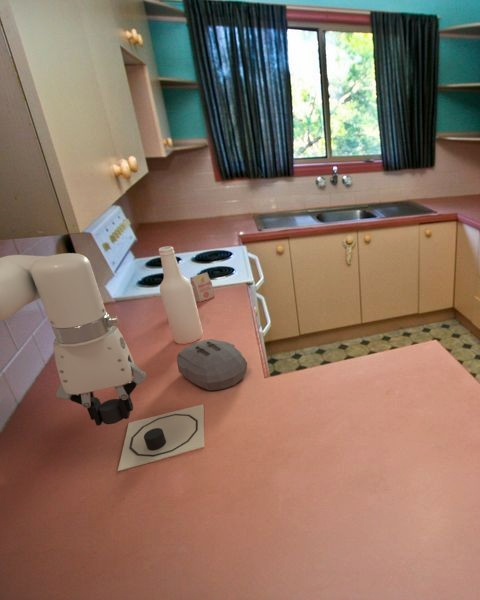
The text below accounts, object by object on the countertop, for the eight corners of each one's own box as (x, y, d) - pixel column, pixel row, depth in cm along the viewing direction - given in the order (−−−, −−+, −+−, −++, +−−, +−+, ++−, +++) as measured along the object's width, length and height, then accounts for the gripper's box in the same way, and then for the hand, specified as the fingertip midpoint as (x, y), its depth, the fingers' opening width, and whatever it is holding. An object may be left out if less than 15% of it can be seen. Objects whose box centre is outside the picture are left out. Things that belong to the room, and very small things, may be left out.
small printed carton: (193, 300, 164) (187, 276, 160) (209, 295, 169) (204, 271, 165) (198, 302, 162) (193, 278, 158) (214, 297, 167) (209, 273, 163)
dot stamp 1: (101, 426, 76) (95, 413, 74) (105, 414, 79) (100, 401, 78) (124, 421, 77) (119, 407, 76) (127, 409, 80) (122, 396, 79)
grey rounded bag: (171, 374, 117) (209, 402, 105) (164, 348, 113) (201, 373, 102) (222, 352, 127) (261, 374, 116) (216, 327, 124) (256, 347, 112)
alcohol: (167, 342, 134) (141, 251, 122) (188, 330, 141) (165, 242, 130) (189, 346, 131) (165, 253, 119) (209, 333, 139) (188, 244, 127)
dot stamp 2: (146, 452, 89) (142, 441, 88) (148, 441, 92) (144, 430, 91) (165, 447, 90) (162, 436, 89) (166, 436, 93) (163, 426, 92)
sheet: (118, 471, 85) (117, 470, 85) (129, 423, 98) (128, 422, 98) (204, 447, 91) (204, 445, 90) (203, 405, 104) (203, 403, 104)
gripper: (142, 310, 77) (166, 395, 84) (29, 328, 71) (66, 417, 78) (136, 328, 70) (163, 417, 78) (12, 349, 64) (53, 443, 72)
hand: (114, 416), depth 78 cm, fingers closed on dot stamp 1, 3 cm apart
